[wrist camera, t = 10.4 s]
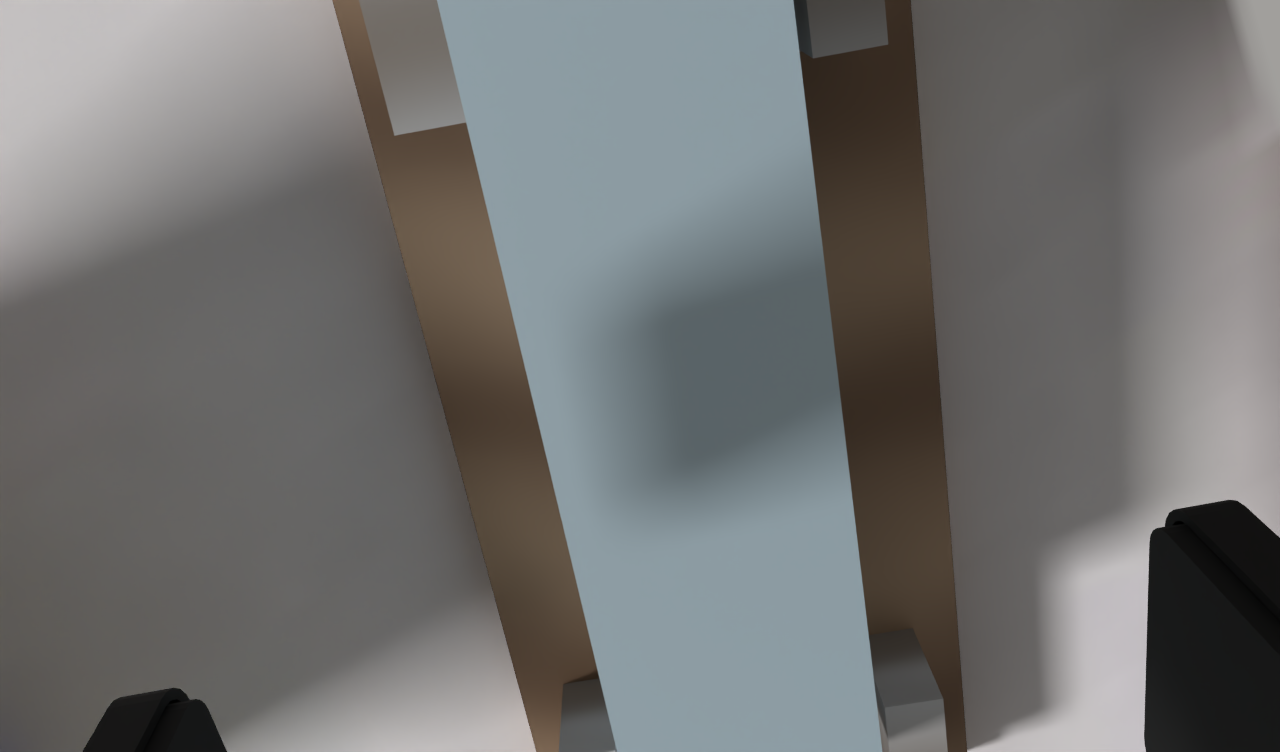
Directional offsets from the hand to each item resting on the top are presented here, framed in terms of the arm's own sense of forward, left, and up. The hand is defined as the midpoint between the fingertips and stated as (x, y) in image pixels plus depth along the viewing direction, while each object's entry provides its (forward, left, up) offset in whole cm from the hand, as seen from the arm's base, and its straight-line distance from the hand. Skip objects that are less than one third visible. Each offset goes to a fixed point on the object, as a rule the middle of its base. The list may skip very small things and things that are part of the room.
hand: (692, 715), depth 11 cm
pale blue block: (+1, 0, -12) cm, 11 cm away
